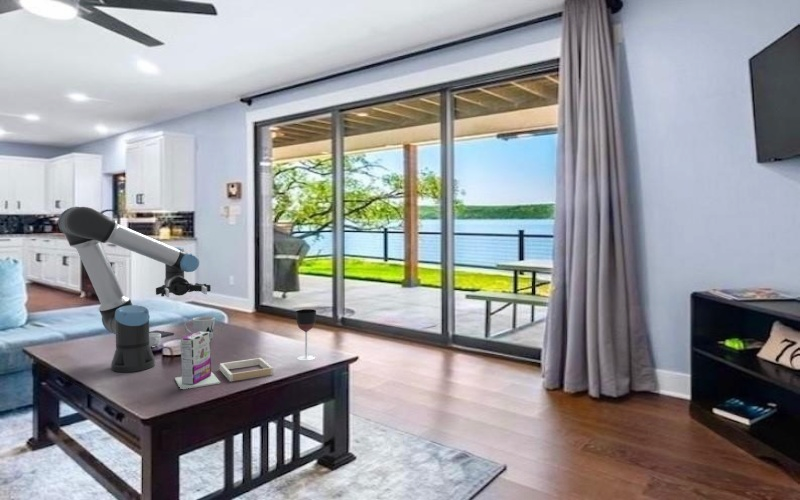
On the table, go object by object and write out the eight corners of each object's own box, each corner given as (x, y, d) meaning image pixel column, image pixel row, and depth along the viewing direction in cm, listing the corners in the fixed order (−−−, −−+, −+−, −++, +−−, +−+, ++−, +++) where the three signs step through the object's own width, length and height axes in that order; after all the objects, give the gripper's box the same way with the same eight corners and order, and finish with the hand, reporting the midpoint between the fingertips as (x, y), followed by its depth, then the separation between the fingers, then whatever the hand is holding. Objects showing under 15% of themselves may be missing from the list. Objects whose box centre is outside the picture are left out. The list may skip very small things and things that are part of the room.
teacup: (139, 346, 227) (139, 334, 227) (156, 343, 233) (156, 332, 233) (148, 350, 221) (148, 338, 220) (166, 347, 226) (166, 335, 226)
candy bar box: (199, 374, 185) (198, 330, 184) (211, 375, 184) (211, 331, 183) (180, 384, 174) (179, 338, 173) (193, 385, 173) (192, 338, 172)
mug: (210, 341, 238) (210, 320, 237) (179, 340, 238) (178, 320, 237) (218, 336, 248) (218, 316, 247) (188, 335, 248) (188, 315, 248)
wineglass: (319, 356, 213) (319, 310, 212) (307, 361, 205) (307, 313, 204) (304, 354, 217) (304, 308, 215) (292, 359, 209) (292, 311, 208)
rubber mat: (180, 389, 171) (180, 388, 171) (174, 379, 182) (174, 377, 181) (220, 383, 177) (220, 381, 177) (212, 373, 188) (212, 372, 188)
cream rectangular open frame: (229, 381, 180) (229, 374, 180) (219, 369, 193) (219, 363, 193) (273, 374, 188) (273, 367, 188) (260, 363, 202) (260, 357, 202)
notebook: (135, 345, 231) (174, 335, 250) (135, 341, 231) (174, 332, 250) (117, 342, 236) (156, 333, 256) (117, 338, 236) (156, 330, 256)
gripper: (209, 292, 217) (220, 299, 200) (145, 296, 204) (151, 304, 186) (209, 275, 217) (220, 280, 199) (145, 278, 204) (151, 284, 186)
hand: (187, 292), depth 193 cm, fingers open, 13 cm apart
